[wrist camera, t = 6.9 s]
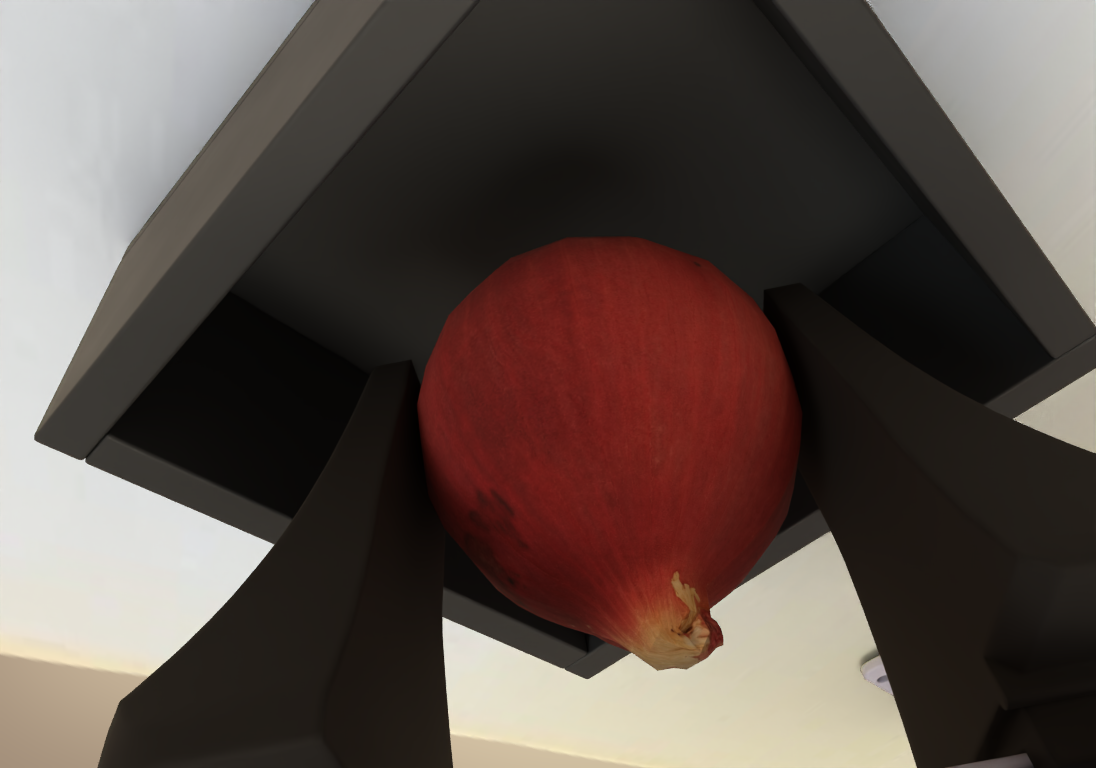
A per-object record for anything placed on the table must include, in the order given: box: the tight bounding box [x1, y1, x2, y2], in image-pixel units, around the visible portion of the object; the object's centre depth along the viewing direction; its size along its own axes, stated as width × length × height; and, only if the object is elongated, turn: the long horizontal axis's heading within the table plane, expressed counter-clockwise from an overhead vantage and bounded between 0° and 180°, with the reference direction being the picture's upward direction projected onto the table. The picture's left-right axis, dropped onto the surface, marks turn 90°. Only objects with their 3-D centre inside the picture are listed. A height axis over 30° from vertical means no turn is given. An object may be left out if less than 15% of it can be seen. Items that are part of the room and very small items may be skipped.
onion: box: [417, 236, 802, 671], centre depth 13 cm, size 6×6×8 cm
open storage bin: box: [34, 0, 1096, 679], centre depth 16 cm, size 13×13×6 cm
